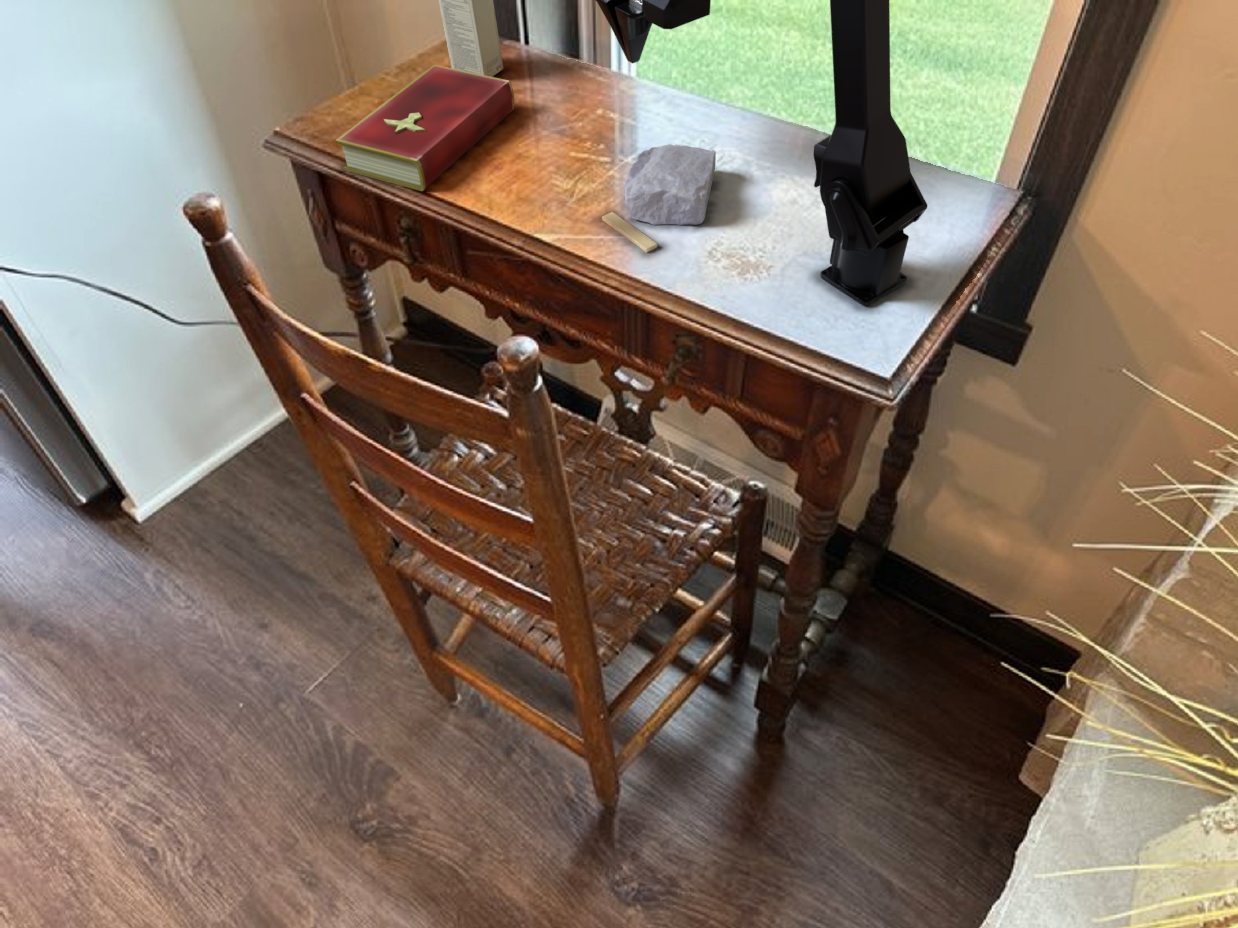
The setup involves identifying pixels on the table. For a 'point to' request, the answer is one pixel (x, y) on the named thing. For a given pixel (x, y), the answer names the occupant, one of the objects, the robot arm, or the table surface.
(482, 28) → the cosmetic box
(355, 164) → the hardcover book
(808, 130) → the table surface
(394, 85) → the table surface
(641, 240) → the maple strip
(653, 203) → the stone block
